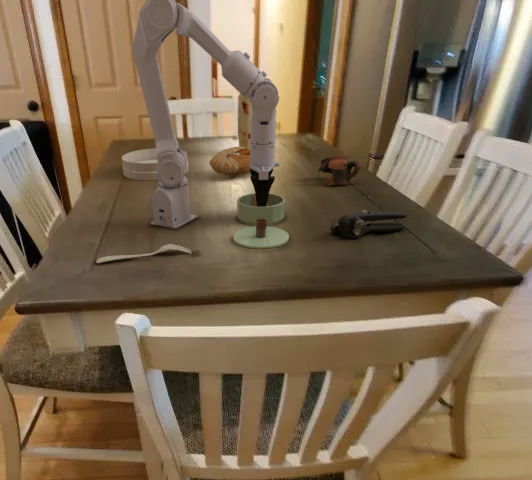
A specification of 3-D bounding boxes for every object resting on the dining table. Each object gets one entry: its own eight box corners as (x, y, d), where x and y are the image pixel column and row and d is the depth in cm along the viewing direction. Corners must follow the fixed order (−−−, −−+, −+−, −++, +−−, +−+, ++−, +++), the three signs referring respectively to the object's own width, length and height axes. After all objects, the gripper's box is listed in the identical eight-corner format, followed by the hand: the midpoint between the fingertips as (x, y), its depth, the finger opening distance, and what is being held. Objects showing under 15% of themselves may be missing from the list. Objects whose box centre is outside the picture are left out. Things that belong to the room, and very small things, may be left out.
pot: (271, 228, 109) (272, 210, 106) (228, 221, 114) (228, 203, 112) (291, 214, 117) (293, 196, 114) (251, 207, 122) (251, 190, 119)
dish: (112, 179, 150) (109, 162, 147) (137, 162, 167) (135, 147, 164) (177, 181, 145) (176, 164, 142) (196, 163, 162) (195, 148, 159)
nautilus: (273, 169, 155) (277, 184, 143) (209, 167, 155) (208, 182, 143) (276, 143, 150) (281, 156, 138) (209, 141, 149) (209, 154, 138)
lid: (273, 255, 97) (274, 234, 94) (222, 245, 102) (222, 225, 99) (297, 236, 105) (299, 216, 102) (249, 227, 110) (249, 208, 108)
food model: (236, 150, 177) (236, 89, 165) (253, 149, 178) (254, 88, 165) (239, 156, 169) (239, 92, 157) (257, 155, 170) (258, 91, 158)
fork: (100, 269, 100) (96, 257, 98) (195, 251, 100) (192, 238, 98) (99, 275, 97) (95, 263, 96) (196, 256, 98) (194, 243, 96)
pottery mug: (316, 188, 136) (314, 158, 135) (323, 194, 144) (321, 167, 143) (358, 179, 130) (357, 148, 129) (363, 186, 139) (362, 158, 138)
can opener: (341, 245, 100) (345, 219, 96) (326, 234, 105) (329, 209, 102) (413, 233, 103) (419, 208, 100) (395, 223, 109) (400, 199, 105)
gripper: (283, 148, 99) (279, 212, 107) (277, 135, 111) (275, 193, 119) (250, 149, 99) (249, 213, 108) (248, 136, 111) (247, 194, 119)
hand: (261, 203), depth 113 cm, fingers open, 5 cm apart
